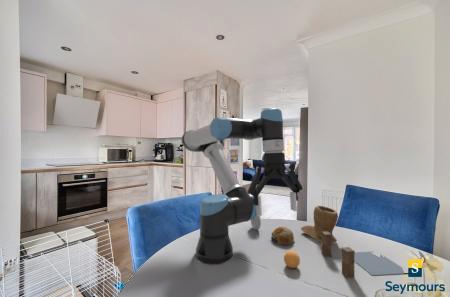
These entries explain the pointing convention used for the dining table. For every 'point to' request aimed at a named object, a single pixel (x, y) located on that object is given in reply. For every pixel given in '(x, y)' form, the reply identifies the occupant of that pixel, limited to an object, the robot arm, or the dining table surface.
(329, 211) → the brown boot
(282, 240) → the bread roll
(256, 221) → the donut
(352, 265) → the gate post right
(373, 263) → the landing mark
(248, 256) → the dining table surface
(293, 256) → the ball
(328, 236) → the gate post left
